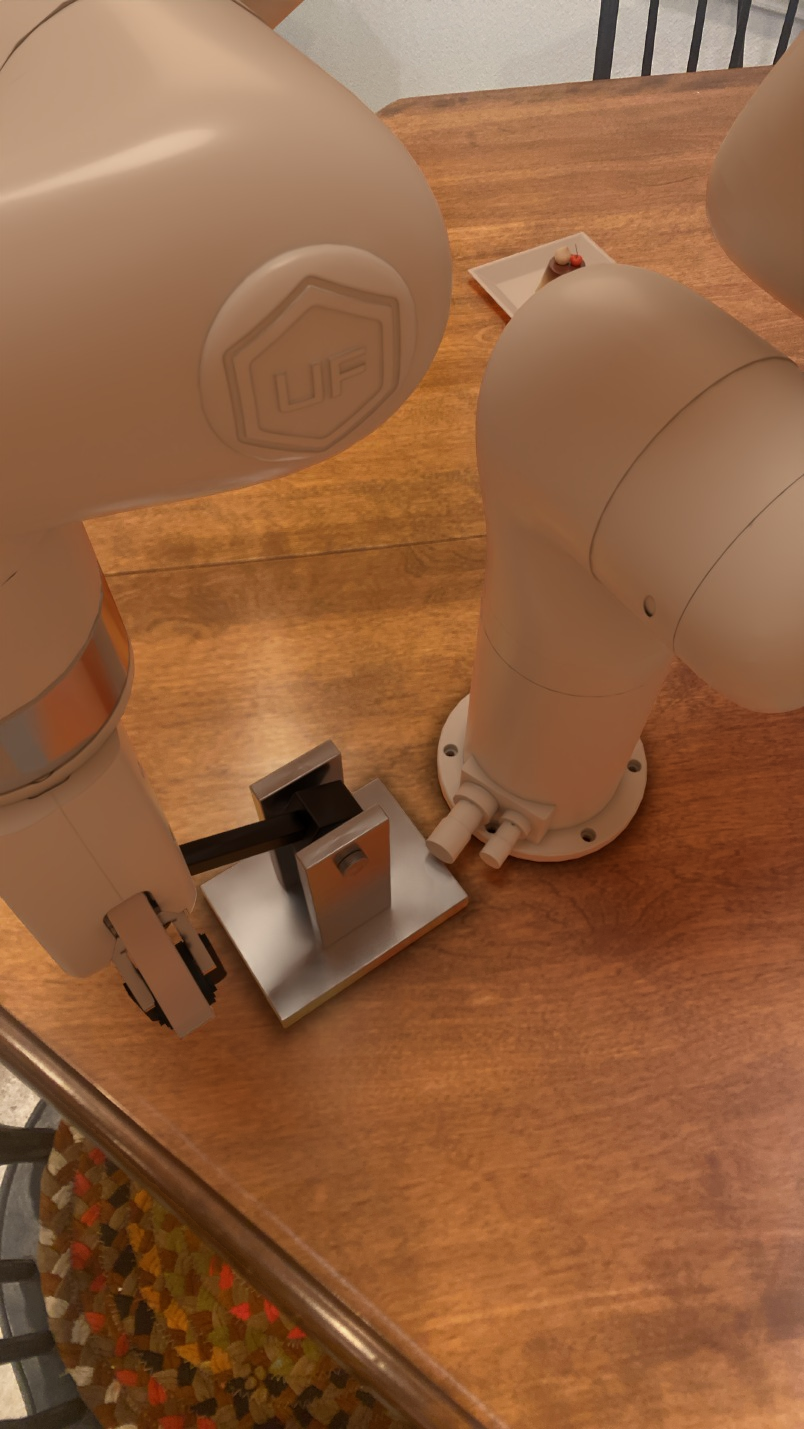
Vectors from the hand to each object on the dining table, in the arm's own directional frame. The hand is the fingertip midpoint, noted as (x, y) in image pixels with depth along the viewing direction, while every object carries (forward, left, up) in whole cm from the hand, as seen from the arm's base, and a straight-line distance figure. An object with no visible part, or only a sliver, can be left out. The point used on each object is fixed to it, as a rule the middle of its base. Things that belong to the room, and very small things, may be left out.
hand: (132, 894), depth 39 cm
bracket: (+8, -3, -15) cm, 17 cm away
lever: (+4, -1, -2) cm, 5 cm away
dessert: (+62, +14, -15) cm, 65 cm away
